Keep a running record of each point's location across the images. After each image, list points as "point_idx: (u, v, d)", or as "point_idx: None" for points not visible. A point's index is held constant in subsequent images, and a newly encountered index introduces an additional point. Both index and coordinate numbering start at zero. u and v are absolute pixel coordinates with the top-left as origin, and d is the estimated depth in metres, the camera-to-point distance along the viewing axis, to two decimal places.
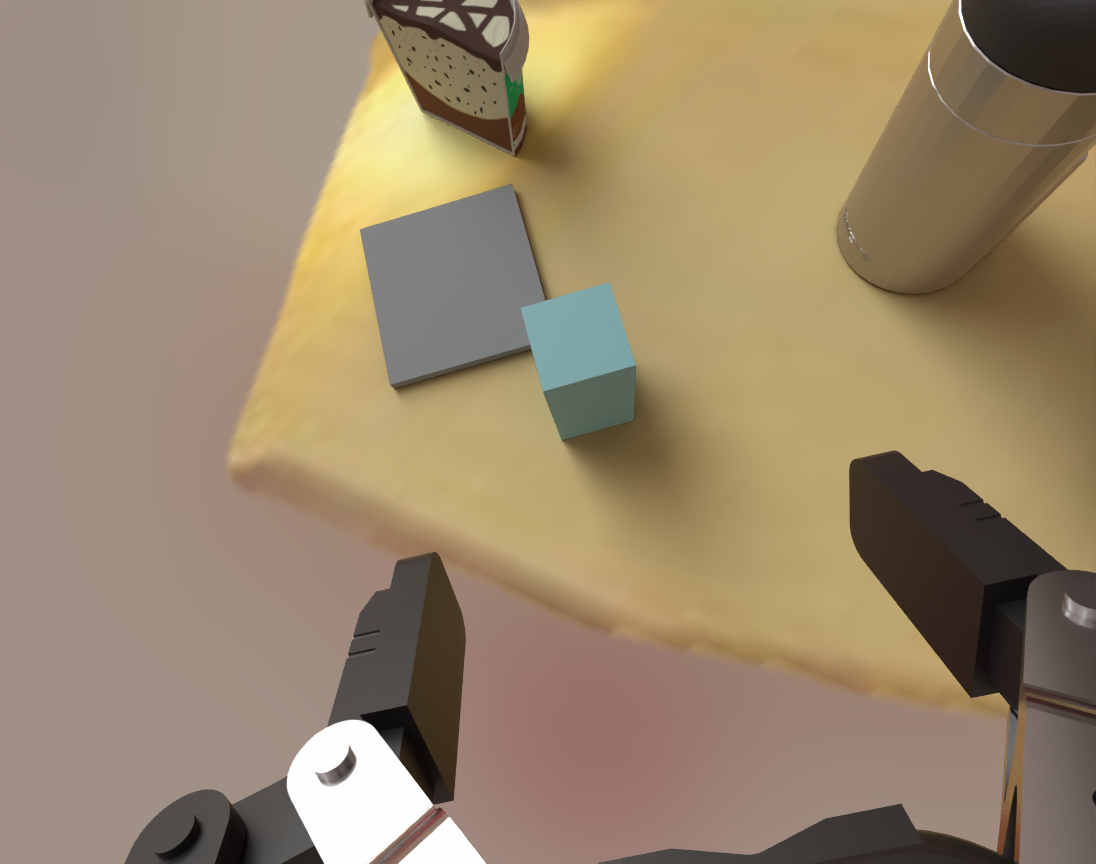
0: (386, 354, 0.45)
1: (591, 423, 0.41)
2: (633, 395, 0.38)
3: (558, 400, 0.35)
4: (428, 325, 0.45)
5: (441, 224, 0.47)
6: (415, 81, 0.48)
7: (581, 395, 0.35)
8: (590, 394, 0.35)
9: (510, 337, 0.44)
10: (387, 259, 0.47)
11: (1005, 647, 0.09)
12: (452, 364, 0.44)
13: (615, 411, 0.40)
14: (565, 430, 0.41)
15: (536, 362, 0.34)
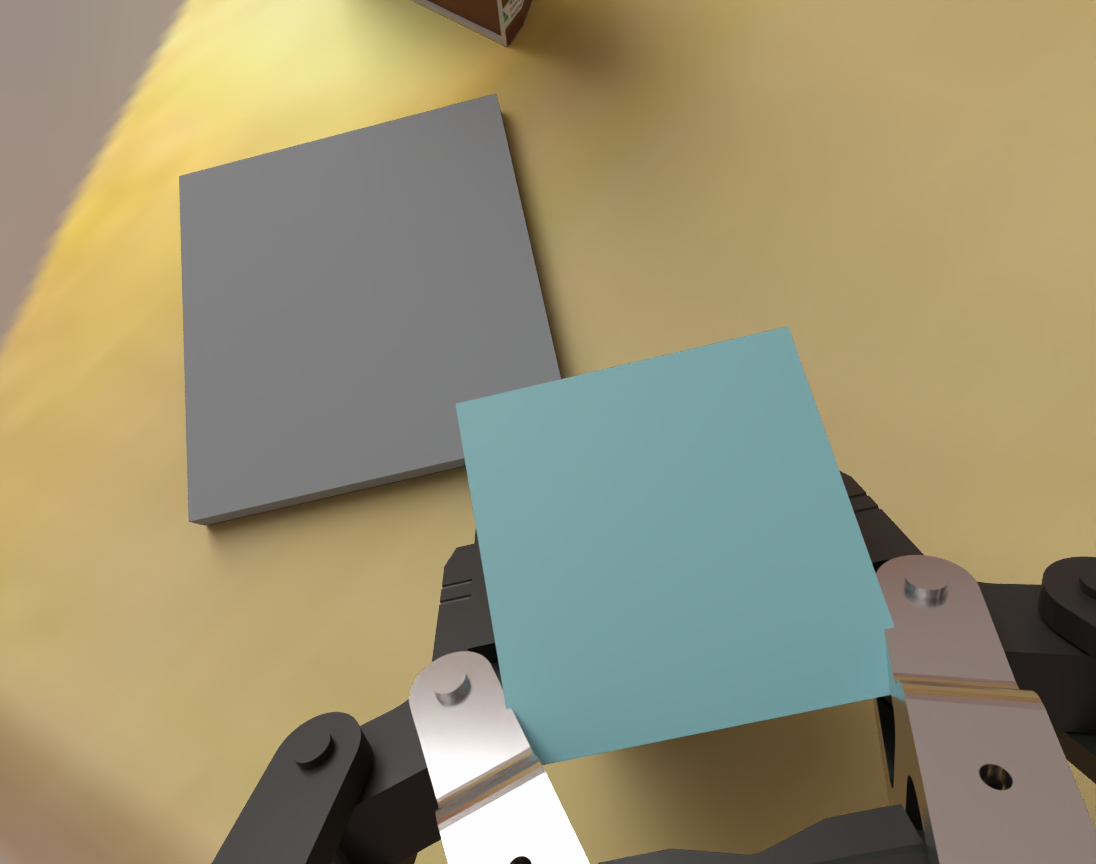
0: (191, 448, 0.20)
1: None
2: None
3: None
4: (290, 387, 0.20)
5: (343, 171, 0.23)
6: None
7: None
8: None
9: None
10: (223, 238, 0.22)
11: None
12: (333, 481, 0.19)
13: None
14: None
15: (498, 632, 0.08)
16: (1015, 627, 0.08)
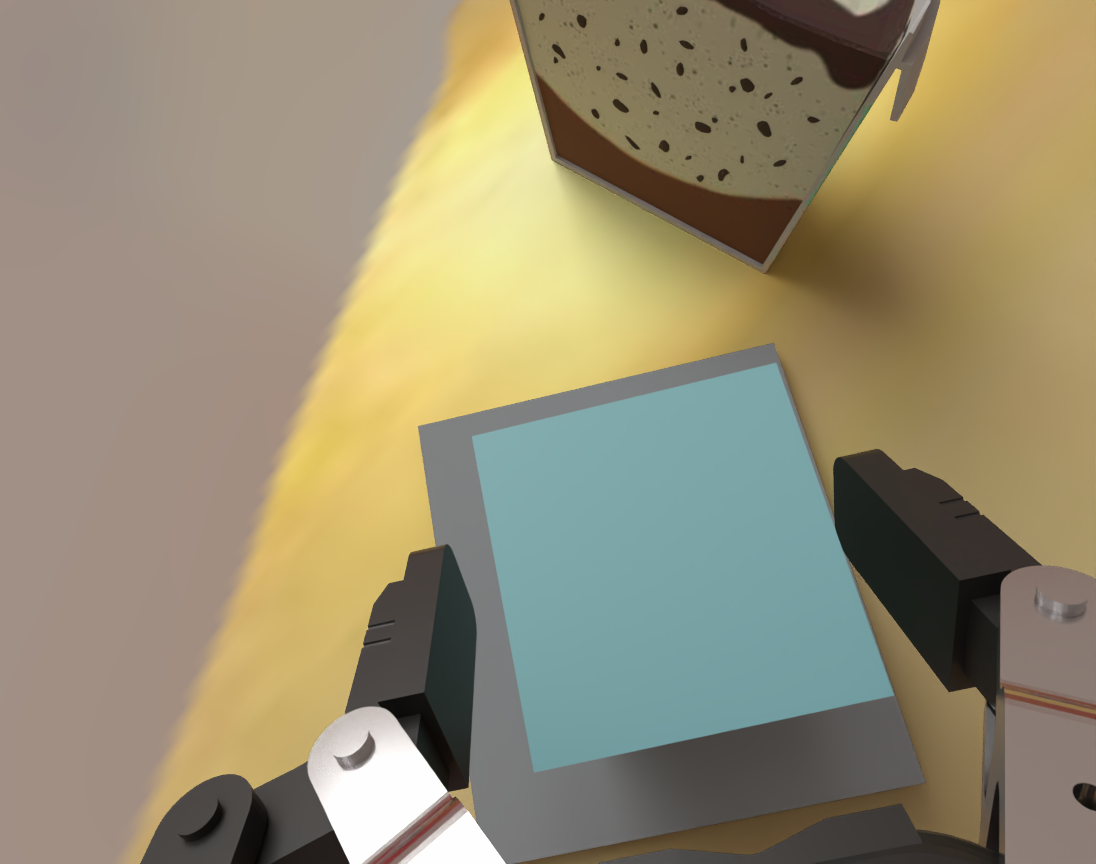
0: (475, 774, 0.18)
1: None
2: None
3: None
4: None
5: None
6: (558, 99, 0.22)
7: None
8: None
9: (799, 767, 0.17)
10: (479, 508, 0.20)
11: (980, 642, 0.09)
12: (648, 828, 0.17)
13: None
14: None
15: (515, 647, 0.09)
16: None
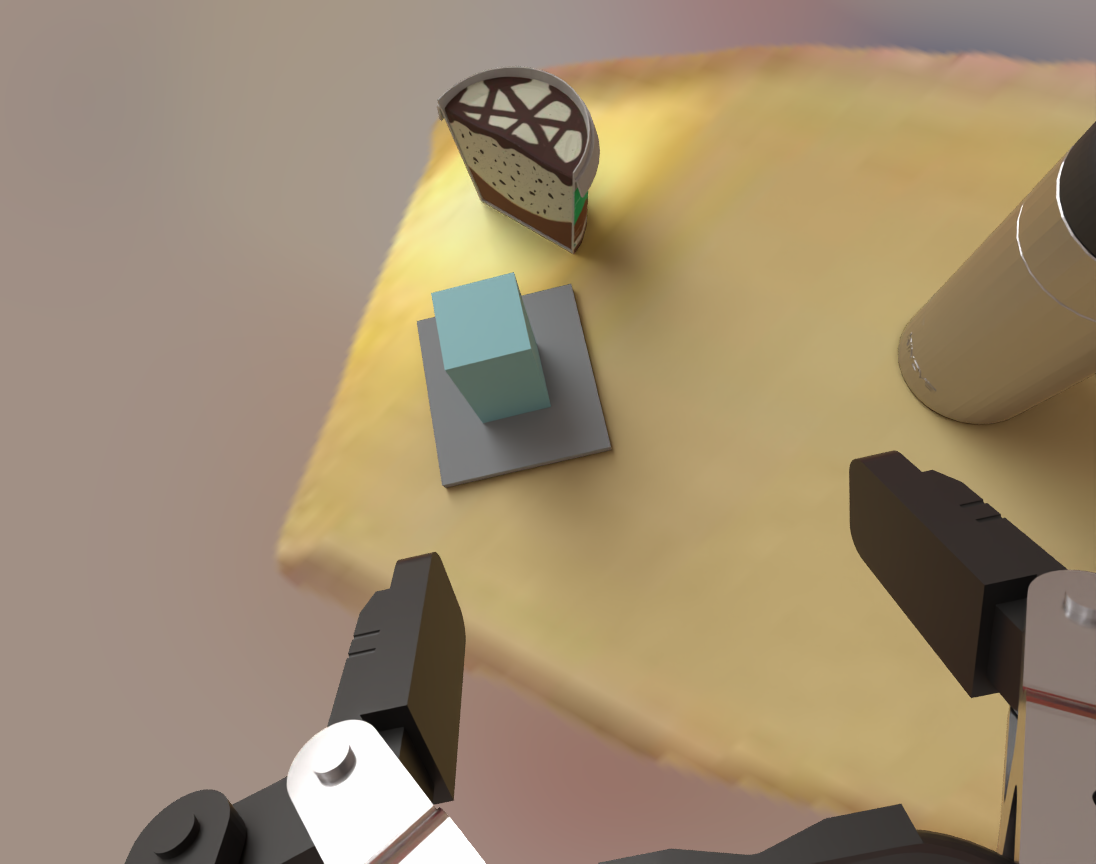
0: (439, 453, 0.45)
1: (507, 407, 0.43)
2: (540, 380, 0.40)
3: (464, 380, 0.38)
4: (482, 425, 0.45)
5: None
6: (479, 176, 0.49)
7: (485, 376, 0.38)
8: (494, 375, 0.38)
9: (565, 444, 0.44)
10: None
11: (1005, 647, 0.09)
12: (506, 467, 0.44)
13: (528, 395, 0.42)
14: (482, 412, 0.43)
15: (441, 343, 0.36)
16: None
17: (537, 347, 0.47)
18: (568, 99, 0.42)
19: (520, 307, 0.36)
